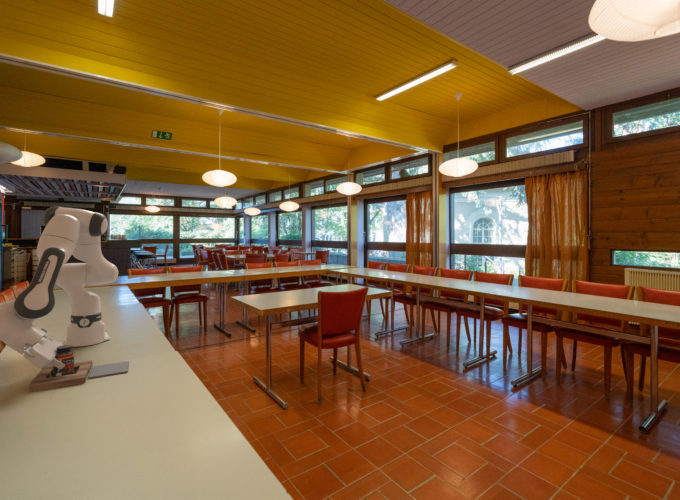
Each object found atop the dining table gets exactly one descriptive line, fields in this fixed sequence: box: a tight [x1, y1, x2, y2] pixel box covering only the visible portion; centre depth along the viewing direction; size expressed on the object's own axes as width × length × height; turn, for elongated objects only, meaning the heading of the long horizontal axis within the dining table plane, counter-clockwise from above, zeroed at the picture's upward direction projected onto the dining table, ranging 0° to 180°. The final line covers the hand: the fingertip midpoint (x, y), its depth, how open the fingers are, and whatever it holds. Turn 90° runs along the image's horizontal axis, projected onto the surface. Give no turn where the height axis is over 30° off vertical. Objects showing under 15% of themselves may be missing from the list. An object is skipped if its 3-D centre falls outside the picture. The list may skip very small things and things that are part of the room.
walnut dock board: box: [28, 359, 93, 393], centre depth 120 cm, size 19×15×2 cm
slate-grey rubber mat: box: [87, 360, 130, 380], centre depth 127 cm, size 12×12×1 cm
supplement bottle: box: [52, 345, 75, 377], centre depth 120 cm, size 6×6×11 cm
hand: (65, 363), depth 120 cm, fingers closed on supplement bottle, 6 cm apart
